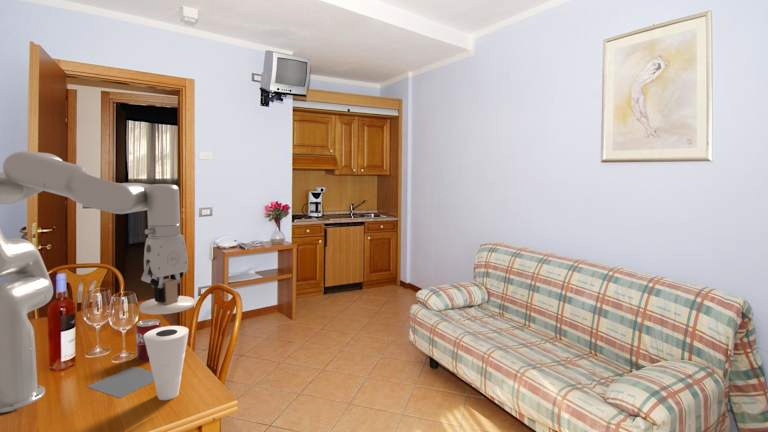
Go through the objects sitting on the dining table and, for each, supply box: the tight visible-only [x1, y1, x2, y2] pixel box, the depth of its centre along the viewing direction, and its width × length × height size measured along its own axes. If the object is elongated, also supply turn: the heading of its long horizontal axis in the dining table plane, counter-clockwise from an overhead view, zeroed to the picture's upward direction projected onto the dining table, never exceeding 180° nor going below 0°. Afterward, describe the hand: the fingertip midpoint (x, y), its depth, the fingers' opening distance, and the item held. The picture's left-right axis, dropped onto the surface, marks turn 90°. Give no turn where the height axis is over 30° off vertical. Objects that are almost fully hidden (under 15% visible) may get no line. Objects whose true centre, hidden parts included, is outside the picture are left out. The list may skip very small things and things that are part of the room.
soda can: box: [135, 318, 162, 362], centre depth 137 cm, size 7×7×12 cm
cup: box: [144, 325, 190, 401], centre depth 113 cm, size 11×11×18 cm
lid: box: [139, 278, 196, 316], centre depth 112 cm, size 13×13×7 cm
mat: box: [86, 366, 155, 399], centre depth 121 cm, size 14×14×1 cm
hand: (166, 299), depth 112 cm, fingers closed on lid, 3 cm apart
